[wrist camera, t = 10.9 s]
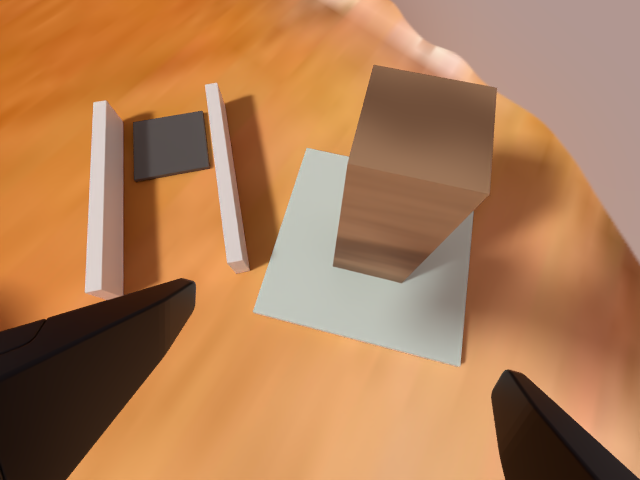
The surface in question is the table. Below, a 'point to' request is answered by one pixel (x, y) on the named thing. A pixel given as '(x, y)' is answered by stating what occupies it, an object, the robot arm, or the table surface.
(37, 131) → the table surface
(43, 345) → the robot arm
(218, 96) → the channel
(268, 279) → the plate
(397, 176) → the post
